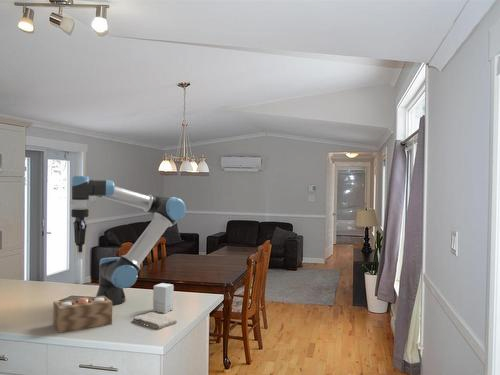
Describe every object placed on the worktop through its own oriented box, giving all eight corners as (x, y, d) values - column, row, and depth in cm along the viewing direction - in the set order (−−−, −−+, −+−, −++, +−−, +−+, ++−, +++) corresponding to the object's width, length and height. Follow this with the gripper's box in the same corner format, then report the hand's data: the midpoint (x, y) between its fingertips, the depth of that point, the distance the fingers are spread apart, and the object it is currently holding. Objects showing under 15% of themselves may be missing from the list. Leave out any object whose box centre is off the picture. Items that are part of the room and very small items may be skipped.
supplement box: (173, 309, 226) (174, 284, 226) (164, 313, 219) (165, 287, 219) (161, 307, 229) (162, 282, 229) (152, 311, 222) (152, 285, 222)
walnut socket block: (103, 316, 211) (104, 295, 211) (112, 324, 201) (112, 301, 201) (53, 324, 198) (53, 301, 198) (59, 332, 189) (59, 308, 188)
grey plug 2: (102, 316, 207) (102, 297, 207) (105, 319, 203) (105, 299, 203) (92, 318, 204) (92, 298, 204) (95, 320, 201) (95, 300, 201)
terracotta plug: (86, 317, 203) (86, 296, 203) (89, 319, 199) (89, 299, 199) (76, 318, 200) (76, 298, 200) (78, 321, 197) (79, 300, 197)
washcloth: (150, 316, 216) (150, 309, 215) (178, 324, 205) (178, 317, 205) (130, 322, 206) (130, 315, 206) (158, 330, 196) (159, 323, 196)
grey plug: (70, 321, 199) (70, 301, 199) (72, 324, 195) (73, 303, 195) (59, 323, 196) (59, 302, 196) (61, 326, 193) (62, 305, 193)
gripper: (68, 207, 216) (67, 257, 217) (75, 209, 205) (74, 261, 206) (84, 207, 220) (83, 256, 221) (92, 209, 210) (91, 260, 210)
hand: (79, 258), depth 213 cm, fingers closed
